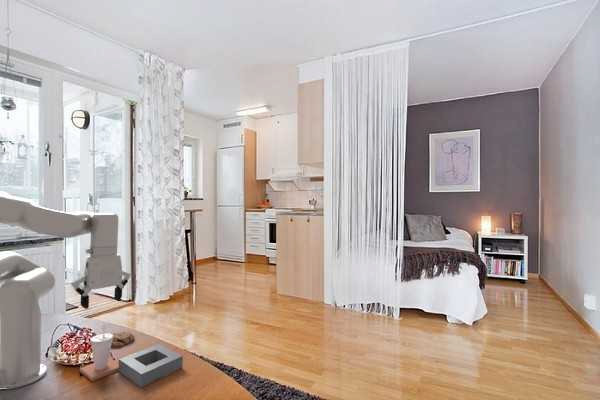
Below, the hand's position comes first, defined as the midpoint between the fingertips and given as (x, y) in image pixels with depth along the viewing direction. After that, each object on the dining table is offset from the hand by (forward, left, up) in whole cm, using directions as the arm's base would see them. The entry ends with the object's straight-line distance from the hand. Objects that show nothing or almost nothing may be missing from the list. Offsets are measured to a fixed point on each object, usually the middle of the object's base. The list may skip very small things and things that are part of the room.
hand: (102, 303), depth 104 cm
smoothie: (0, 0, -21) cm, 21 cm away
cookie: (+13, +16, -22) cm, 30 cm away
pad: (0, 0, -22) cm, 22 cm away
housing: (+10, -12, -22) cm, 27 cm away
